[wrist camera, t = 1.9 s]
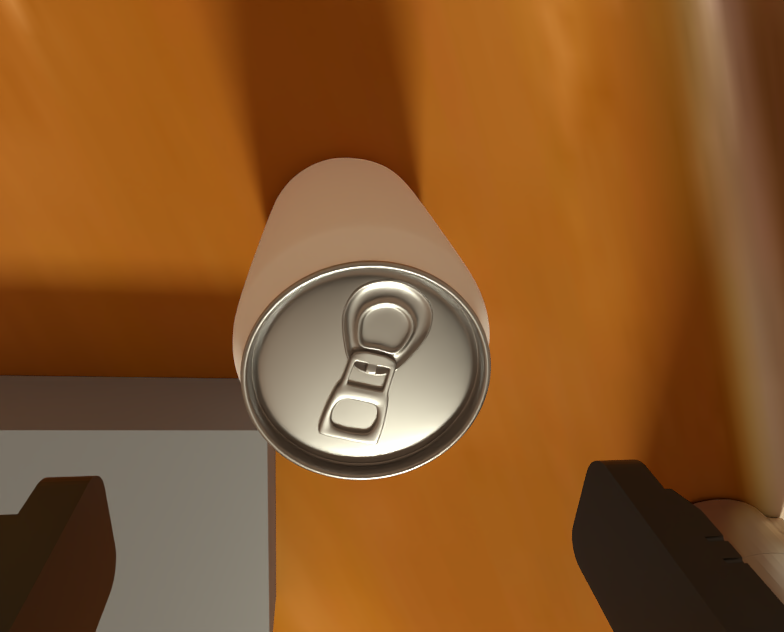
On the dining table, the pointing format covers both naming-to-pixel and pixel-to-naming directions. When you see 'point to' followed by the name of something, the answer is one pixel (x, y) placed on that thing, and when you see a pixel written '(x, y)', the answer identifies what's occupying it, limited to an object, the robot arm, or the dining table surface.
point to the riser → (157, 491)
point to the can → (359, 327)
